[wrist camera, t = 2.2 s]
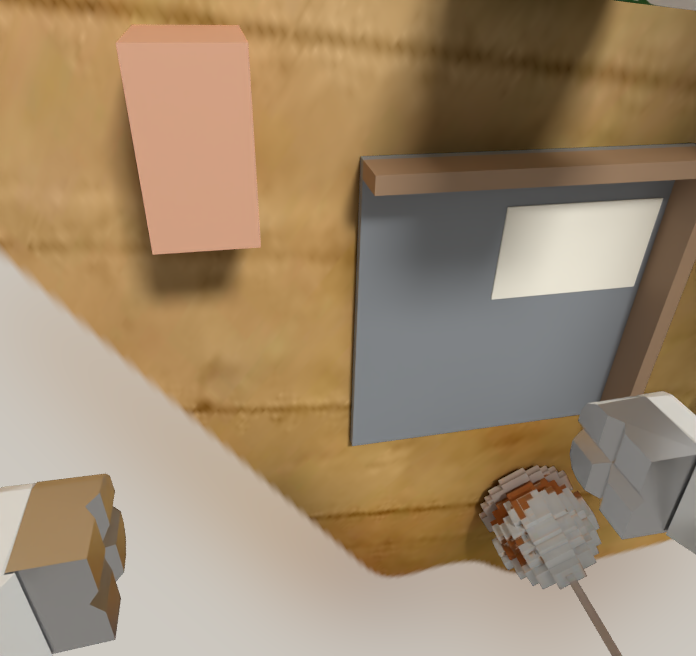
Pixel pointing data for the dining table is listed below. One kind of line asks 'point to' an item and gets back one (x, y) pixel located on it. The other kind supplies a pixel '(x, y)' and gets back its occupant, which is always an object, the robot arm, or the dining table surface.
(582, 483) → the robot arm
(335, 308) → the dining table surface
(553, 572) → the decorative ornament
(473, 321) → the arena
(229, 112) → the salmon block
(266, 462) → the dining table surface
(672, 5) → the milk carton
